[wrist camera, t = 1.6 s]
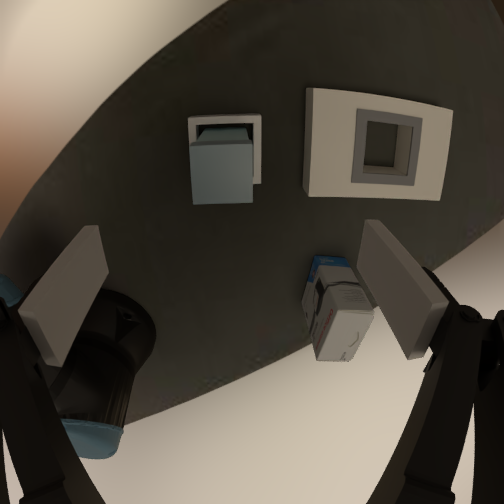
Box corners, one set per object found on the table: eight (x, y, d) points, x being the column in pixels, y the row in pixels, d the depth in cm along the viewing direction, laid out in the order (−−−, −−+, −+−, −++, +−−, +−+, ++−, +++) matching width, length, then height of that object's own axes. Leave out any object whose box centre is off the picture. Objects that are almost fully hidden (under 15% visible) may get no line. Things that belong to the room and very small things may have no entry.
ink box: (314, 253, 42) (337, 310, 32) (346, 257, 42) (377, 312, 32) (299, 303, 46) (314, 363, 36) (329, 305, 47) (350, 362, 36)
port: (302, 186, 37) (309, 197, 34) (306, 87, 31) (314, 87, 28) (426, 191, 38) (440, 201, 34) (437, 106, 32) (454, 110, 29)
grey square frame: (194, 179, 36) (192, 185, 34) (191, 116, 32) (187, 118, 30) (259, 177, 36) (261, 183, 34) (259, 113, 32) (261, 115, 30)
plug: (205, 167, 35) (193, 204, 25) (204, 127, 33) (189, 146, 22) (247, 166, 35) (252, 202, 25) (246, 125, 33) (252, 143, 23)
